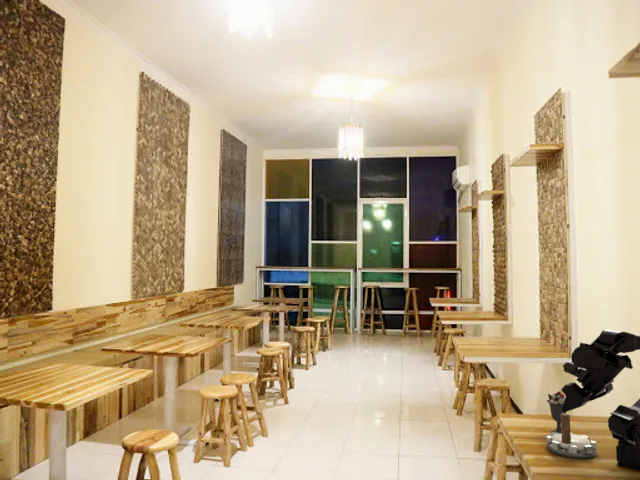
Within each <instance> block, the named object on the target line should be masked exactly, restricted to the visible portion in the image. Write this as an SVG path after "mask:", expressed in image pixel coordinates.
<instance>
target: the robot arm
mask: <svg viewBox="0 0 640 480" xmlns="http://www.w3.org/2000/svg"><path fill="white" fill-rule="evenodd" d="M639 350H640V335H636V334H633V333H630V332H626V331H620V330H615V329H609V328H605V329H603V330H602V331H601V332H600V335H598V336H597V337H596V338H595V339H594V340H593V341H592V342H591V343H590V344H589V343H586V342H582V341H581V342H580V343H579V345H578V347H575V349H574V350H573V352H572V353H571V355H570V356H571V358H570V359H567V360H566V361H565V362H564V364H562V367H563V372H565V373H568V374H569V375H571V376H574V377H576V380H575V381H577V382H578V383H579V384H580V385H581V386H579V384H578V383H576V382H569V383H567V384H564V385H563V387H562V388H561V389H560V390H561V393H563V395H564V398H565V401H564V403H563V406H562V408H561V410H562V411H563V412H566V413H567V412H570V411H573V410H576V409H579V408H582V407H583V406H585V405H586V404H587V403H588V402H592V401H594V400H596V399H599V398H603V397H605V396H606V395H608V394H610V393H611V392H612V391H613V390H614V388H613V387H614V385H613V383H614V381H615V378H617V376H618V375H620V373H621V372H622V371H623V370H624V369H625V368H626V369H630V370H631V369H634V366H633V364H632V359H631V358H630V357H629V356H628V354H625V353H633V352H635V351H639ZM620 353H621V355H620ZM622 354H624V355H622ZM607 423H608V425H607V426H608V430H609V431H610V434H611V437H612V438H613V439H614V440H617V445H615V454H616V461H617V463H616V466H617V467H621V468H625V469H629V470H630V469H631V470H634V471H638V472H640V398H639V399H637V401H635V403H633V404H632V405H631V406H626V405H623V404H619V405H618V406H617V407H616V408H615V410H613V411H612V412H610V416H609V417H608V418H607Z"/></svg>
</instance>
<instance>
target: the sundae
mask: <svg viewBox="0 0 640 480" xmlns="http://www.w3.org/2000/svg"><path fill="white" fill-rule="evenodd" d="M547 397H548V399H547V400H546V402H547V403H548V404H549V410H550V415H551V418H552V419H553V421H555V422H556V429H551V431H550V434H551V433H552V432H557V433H559V434H560V433H561V414H563V413H564V414H567V412H563V411H562V410H561V408H562V406H563V403H564V401H565V394H564V393H563V392H562V390H561V389H560V390H559V391H557V392H555V393H553V394H550V393H547Z"/></svg>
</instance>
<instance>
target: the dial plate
mask: <svg viewBox="0 0 640 480" xmlns="http://www.w3.org/2000/svg"><path fill="white" fill-rule="evenodd" d="M555 434H559V433H557V432H552V433H551V432H550V435H546V448H547V450H548V451H549V452H550V451H551V452H550V453H552V454H554V455H556V456H560V457H562V458H566V459H567V458H568V459H571V460H572V459H573V460H590V459H593V458H595V457H597V443H596V440H590V439H591V437H590V436H588V435H585V434H583V435H582V434H581V435H580V436H582V437H585V438H587V439H588V440H589V441H590V445H585V446H584V451H577V448H576V446H573V445H568V450H567V449H563V448H560V443H559V442H557V441H552V436H553V435H555ZM571 434H574V432H571Z"/></svg>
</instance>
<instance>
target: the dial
mask: <svg viewBox="0 0 640 480" xmlns="http://www.w3.org/2000/svg"><path fill="white" fill-rule="evenodd" d="M552 441H557V442H559V443H560V448H563V449H567V450H568V445H573V446H576V448H577V451H584V446H585V445H590V444H591V440H590V441H589V440H588V439H587V438H585V437H582V436H581V435H578V434H574V433H573V434H571V416H570V414H569V413H566V414H564V413H563V414H561V433H560V434H555V435H553V436H552Z"/></svg>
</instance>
